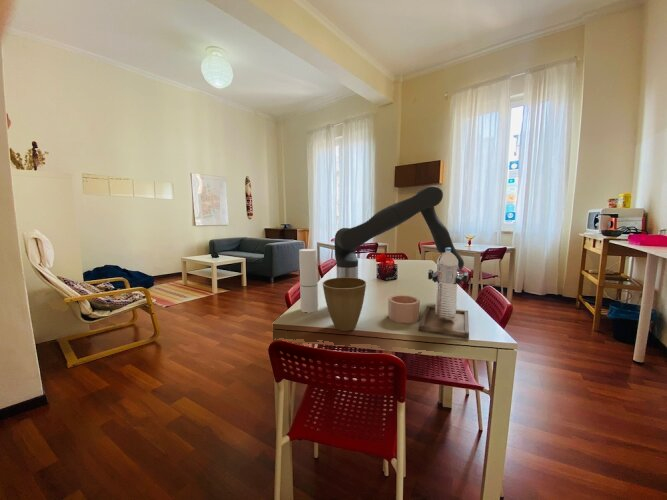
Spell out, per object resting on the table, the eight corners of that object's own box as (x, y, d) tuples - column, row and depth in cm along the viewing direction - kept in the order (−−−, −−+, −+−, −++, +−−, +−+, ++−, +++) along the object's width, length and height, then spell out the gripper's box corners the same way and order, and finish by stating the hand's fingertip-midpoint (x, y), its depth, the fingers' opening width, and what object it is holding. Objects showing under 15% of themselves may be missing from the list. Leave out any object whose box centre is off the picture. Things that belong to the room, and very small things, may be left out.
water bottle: (454, 322, 93) (457, 249, 90) (433, 318, 97) (435, 248, 93) (457, 315, 99) (460, 247, 96) (437, 312, 103) (439, 246, 99)
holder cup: (385, 320, 101) (385, 301, 100) (392, 310, 111) (392, 294, 110) (416, 325, 96) (416, 305, 95) (420, 314, 106) (421, 297, 105)
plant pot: (332, 316, 105) (332, 276, 103) (370, 321, 99) (370, 278, 97) (316, 332, 91) (315, 285, 89) (359, 339, 86) (359, 289, 84)
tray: (418, 330, 91) (418, 325, 91) (426, 309, 111) (426, 305, 111) (468, 338, 85) (469, 333, 85) (467, 315, 105) (468, 310, 104)
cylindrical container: (319, 307, 116) (318, 248, 113) (316, 313, 109) (315, 251, 106) (302, 306, 117) (301, 248, 114) (299, 312, 110) (297, 251, 106)
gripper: (430, 260, 111) (424, 268, 97) (469, 262, 105) (470, 271, 90) (429, 278, 112) (424, 288, 98) (468, 281, 106) (469, 293, 91)
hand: (446, 280), depth 94 cm, fingers closed on water bottle, 7 cm apart
